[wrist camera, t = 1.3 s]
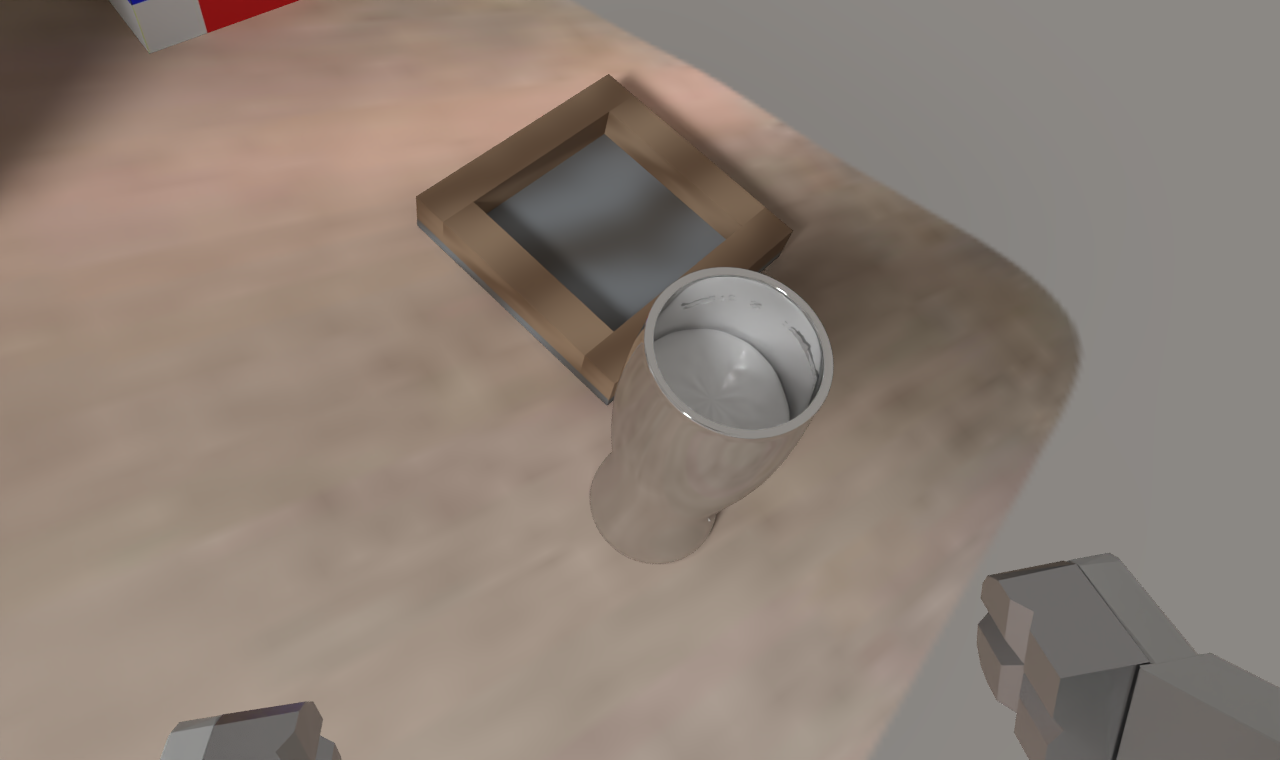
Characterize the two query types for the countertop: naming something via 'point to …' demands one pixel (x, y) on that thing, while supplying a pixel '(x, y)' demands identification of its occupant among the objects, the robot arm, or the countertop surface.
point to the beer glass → (706, 408)
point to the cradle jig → (594, 225)
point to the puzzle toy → (185, 17)
